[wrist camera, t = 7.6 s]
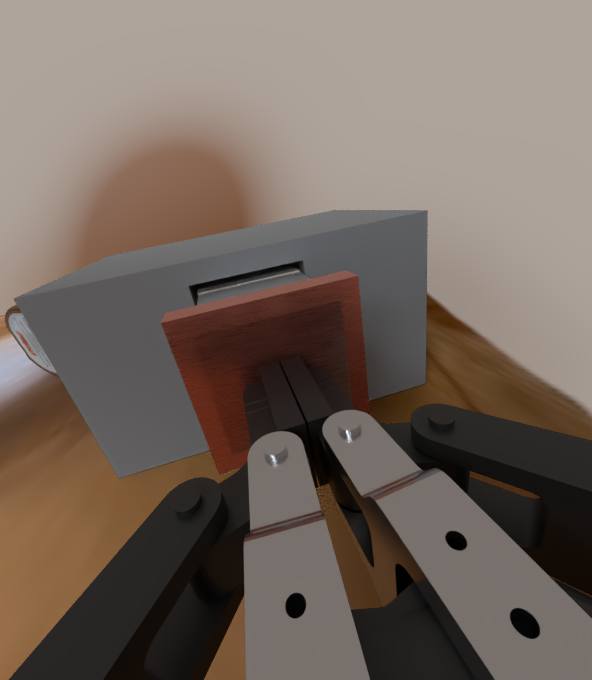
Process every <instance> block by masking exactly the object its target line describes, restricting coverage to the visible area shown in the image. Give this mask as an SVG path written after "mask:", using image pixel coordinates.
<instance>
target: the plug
mask: <svg viewBox="0 0 592 680" xmlns="http://www.w3.org/2000/svg"><path fill="white" fill-rule="evenodd" d="M197 294H198V301H197V306H193V307H189V308H184V309H180V310H176V311H172V312H167V313H165V315H164V317H163V319H162V321H161V325H162V327H163V330H164V332H165V335H166V338H167V340H168V343H169V345H170V348H171V351H172V353H173V356H174V358H175V361H176V363H177V366H178V369H179V371H180V374H181V376H182V379H183V381H184V384H185V387H186V389H187V392H188V394H189V397H190V400H191V402H192V405H193V407H194V410H195V412H196V415H197V418H198V420H199V423H200V425H201V428H202V431H203V433H204V436H205V438H206V441H207V443H208V446H209V449H210V451H211V454H212V456H213V459H214V461H215V464H216V467H217V469H218V472H219V474H221V473H225V472H228V471H231V470H234V469H237V468H240V467H243V466H244V464H245V463H246V461H247V460H248V453H249V450H250V448H251V443H250V437H249V431H248V425H247V419H246V413H245V407H244V401H243V395H242V394H243V392H244V390H245V388H246V386H247V384H251V383H254V382H258V381H262V380H261V376H260V372H259V368H258V367H260V366H263V365H267V364H271V363H274V362H279V364H280V361H281V360H285V359H289V358H292V357H296V356H300V357H301V359H302V361H303V362H304V364H305V366H306V367H311V366H315V365H319V366H321V367H323V368H325V369H327V370H328V371H329V373H330V374H331V375H332V377H333V378H334V380H335V381H336V382H337V384H338V386H340V388H341V389H342V391H343V392H344V393H345V395H346V396H347V397H348V399H349V400H350V402H351V403H352V404H353V406H354V407H355V408H356V410H357V411H362V412H365V413H367V414H369V415H370V405H369V394H368V382H367V370H366V359H365V347H364V336H363V324H362V312H361V301H360V289H359V277H358V275H356V274H354V273H352V272H349V271H347V270H346V271H341V272H337V273H333V274H329V275H324V276H320V277H316V278H312V279H310V278H308V277H307V276H305V275H304V274H303V273H301V272H300V270H299V269H298V268H296V267H295V268H294V267H293V266H291V265H290V264H284V265H279V266H275V267H270V268H266V269H261V270H257V271H252V272H248V273H244V274H239V275H235V276H230V277H226V278H221V279H217V280H212V281H208V282H204V283H200V289H198V292H197Z"/></svg>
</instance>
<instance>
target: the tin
mask: <svg viewBox="0 0 592 680" xmlns="http://www.w3.org/2000/svg"><path fill="white" fill-rule="evenodd" d="M5 322H6V326H7V328H8V330H9V331H10V332H11V334H12V335H13V336H14V338H15V339H16V341H17V342H18V344H19V345H20V346H21V347H22V349H23V350H24V351H25V353H26V355H27V356H28V358H29V359H30V360H31V361H33V362H34V363H35V364H36V365H38V366H39V367H40V368H42V369H43V370H45V371H47V372H49V373H51V374H54V375H57V376H58V374H57V372H56V370H55V369H54V367H53V365H52V364H51V362H50V360H49V359H48V357H47V355H46V353H45V352H44V350H43V348H42V347H41V345H40V343H39V341H38V340H37V338H36V336H35V335H34V333H33V331H32V330H31V328H30V326H29V324H28V323H27V321H26V319H25V318H24V316H23V314H22V313H21V311H20V309H19V307H18V306H17V305H15V306H13V307H11V308H10V309H8V311H7V312H6V315H5Z"/></svg>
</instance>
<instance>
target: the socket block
mask: <svg viewBox="0 0 592 680" xmlns="http://www.w3.org/2000/svg"><path fill="white" fill-rule="evenodd" d="M427 213H428V211H419V210H418V211H416V210H412V211H409V210H407V211H405V210H402V211H401V210H399V211H398V210H397V211H396V210H386V211H385V210H333V211H329V212H323V213H318V214H313V215H308V216H304V217H299V218H294V219H289V220H284V221H280V222H274V223H269V224H264V225H259V226H254V227H249V228H245V229H239V230H234V231H229V232H225V233H220V234H215V235H210V236H205V237H200V238H195V239H190V240H185V241H180V242H175V243H170V244H165V245H161V246H155V247H150V248H146V249H141V250H136V251H131V252H126V253H121V254H116V255H111V256H108V257H106V258H104V259H102V260H99V261H97V262H95V263H93V264H90V265H88V266H86V267H84V268H81V269H79V270H77V271H75V272H73V273H70V274H68V275H66V276H63V277H61V278H59V279H57V280H55V281H52V282H50V283H48V284H46V285H43V286H41V287H39V288H37V289H35V290H32V291H30V292H28V293H26V294H23V295H21V296H19V297H16V298H14V301H15V302H16V304H17V306H18V307H19V309H20V311H21V313H22V314H23V316H24V318H25V319H26V321H27V323H28V324H29V326H30V328H31V330H32V331H33V333H34V335H35V336H36V338H37V340H38V341H39V343H40V345H41V347H42V348H43V350H44V352H45V353H46V355H47V357H48V359H49V360H50V362H51V364H52V365H53V367H54V369H55V370H56V372H57V374H58V376H59V377H60V379H61V381H62V382H63V384H64V386H65V388H66V389H67V391H68V393H69V394H70V396H71V398H72V399H73V401H74V403H75V405H76V406H77V408H78V410H79V411H80V413H81V415H82V416H83V418H84V420H85V422H86V423H87V425H88V427H89V428H90V430H91V432H92V434H93V435H94V437H95V439H96V440H97V442H98V444H99V445H100V447H101V449H102V451H103V452H104V454H105V456H106V457H107V459H108V461H109V462H110V464H111V466H112V468H113V469H114V471H115V473H116V474H117V476H118V478H122V477H125V476H128V475H131V474H135V473H138V472H141V471H144V470H147V469H151V468H154V467H157V466H160V465H164V464H167V463H170V462H173V461H177V460H180V459H183V458H186V457H190V456H193V455H196V454H199V453H202V452H206V451H209V450H210V449H209V446H208V443H207V441H206V438H205V436H204V433H203V431H202V428H201V425H200V423H199V420H198V418H197V415H196V412H195V410H194V407H193V405H192V402H191V400H190V397H189V394H188V392H187V389H186V387H185V384H184V381H183V379H182V376H181V374H180V371H179V369H178V366H177V363H176V361H175V358H174V356H173V353H172V351H171V348H170V345H169V343H168V340H167V338H166V335H165V332H164V330H163V327H162V325H161V321H162V319H163V317H164V315H165V313H167V312H172V311H176V310H180V309H184V308H189V307H193V306H197V301H198V294H197V292H198V289H200V283H204V282H208V281H212V280H217V279H221V278H226V277H230V276H235V275H239V274H244V273H248V272H252V271H257V270H261V269H266V268H270V267H275V266H279V265H284V264H290V265H291V266H293V267H294V268H295V267H296V268H298V269H299V270H300V272H301V273H303V274H304V275H305V276H307V277H308V278H310V279H312V278H316V277H320V276H324V275H329V274H333V273H337V272H341V271H346V270H347V271H349V272H352V273H354V274H356V275H358V277H359V289H360V301H361V312H362V324H363V336H364V347H365V359H366V370H367V382H368V394H369V401H371V400H374V399H377V398H380V397H384V396H387V395H390V394H393V393H397V392H400V391H403V390H406V389H409V388H413V387H416V386H419V385H422V384H426V315H427Z"/></svg>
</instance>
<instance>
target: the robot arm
mask: <svg viewBox="0 0 592 680" xmlns="http://www.w3.org/2000/svg"><path fill="white" fill-rule="evenodd" d="M258 368H259V372H260V376H261V380H262V381H258V382H254V383H251V384H247V386H246V388H245V390H244V392H243V394H242V395H243V401H244V407H245V413H246V419H247V425H248V431H249V437H250V443H251V448H250V450H249V453H248V460H247V461H246V463H245V464H244V466H243V467H242V468H241V469H240V470H239V471H237V472H236V473H235V474H233V475H232V476H231V477H229V478H227V479H226V480H224V481H222V482H221V483H219V484H217V482H215V481H214V480H212V479H210V478H202V477H200V478H194V479H191V480H188V481H186V482H184V483H182V484H180V485H178V486H177V487H175V488H174V489H173V490H172V491H171V492H169V494H168V495H167V496H166V497H165V498H164V499H163V500H162V501H161V503H160V504H159V505H158V506H157V507H156V508H155V510H154V511H153V512H152V513H151V514H150V515H149V517H148V518H147V519H146V520H145V521H144V522H143V524H142V525H141V526H140V527H139V528H138V529H137V531H136V532H135V533H134V534H133V535H132V536H131V538H130V539H129V540H128V541H127V542H126V543H125V545H124V546H123V547H122V548H121V549H120V550H119V552H118V553H117V554H116V555H115V556H114V557H113V559H112V560H111V561H110V562H109V563H108V564H107V566H106V567H105V568H104V569H103V570H102V571H101V573H100V574H99V575H98V576H97V577H96V578H95V580H94V581H93V582H92V583H91V584H90V585H89V587H88V588H87V589H86V590H85V591H84V592H83V594H82V595H81V596H80V597H79V598H78V599H77V601H76V602H75V603H74V604H73V605H72V606H71V608H70V609H69V610H68V611H67V612H66V613H65V615H64V616H63V617H62V618H61V619H60V620H59V622H58V623H57V624H56V625H55V626H54V627H53V629H52V630H51V631H50V632H49V633H48V634H47V636H46V637H45V638H44V639H43V640H42V641H41V643H40V644H39V645H38V646H37V647H36V648H35V650H34V651H33V652H32V653H31V654H30V655H29V657H28V658H27V659H26V660H25V661H24V663H23V664H22V665H21V666H20V667H19V668H18V670H17V671H16V672H15V673H14V674H13V675H12V677H11V678H10V679H9V680H204V678H205V676H206V674H207V672H208V670H209V667H210V665H211V663H212V661H213V659H214V657H215V655H216V653H217V651H218V649H219V647H220V644H221V642H222V640H223V638H224V636H225V634H226V632H227V630H228V628H229V626H230V623H231V621H232V619H233V617H234V615H235V613H236V611H237V609H238V607H239V605H240V603H241V600H242V598H243V596H244V595H245V652H246V680H592V598H591V597H589V596H587V595H585V594H583V593H581V592H579V591H577V590H575V589H573V588H571V587H569V586H567V585H565V584H563V583H561V582H559V581H557V580H554V579H551V578H550V577H549V576H552V577H554V578H556V579H558V580H560V581H562V582H564V583H566V584H569V585H571V586H573V587H575V588H577V589H579V590H581V591H583V592H585V593H588V594H590V595H592V441H590V440H586V439H582V438H578V437H574V436H570V435H566V434H562V433H558V432H554V431H550V430H546V429H542V428H538V427H534V426H530V425H526V424H522V423H518V422H514V421H510V420H506V419H502V418H498V417H494V416H490V415H486V414H482V413H478V412H474V411H470V410H466V409H462V408H458V407H454V406H449V405H445V404H428V405H424V406H421V407H419V408H418V409H416V410H415V411H414V412H413V413H412V416H411V423H395V424H383V423H377V422H376V421H375V419H374V418H373V417H371V416H370V415H369V414H367V413H365V412H362V411H357V410H356V408H355V407H354V406H353V404H352V403H351V402H350V400H349V399H348V397H347V396H346V395H345V393H344V392H343V391H342V389H341V388H340V386H338V384H337V382H336V381H335V380H334V378H333V377H332V375H331V374H330V373H329V371H328V370H327V369H325V368H323V367H321V366H319V365H315V366H311V367H306V366H305V364H304V362H303V361H302V359H301V357H300V356H296V357H292V358H289V359H285V360H281V361H280V364H279V362H274V363H271V364H267V365H263V366H260V367H258ZM470 471H473V472H475V473H478V474H481V475H484V476H487V477H490V478H492V479H495V480H498V481H501V482H504V483H506V484H509V485H512V486H515V487H518V488H521V489H523V490H526V491H529V492H532V493H534V494H536V495H538V496H539V497H541V498H537V499H532V498H527V497H524V496H521V495H518V494H515V493H513V492H510V491H507V490H504V489H502V488H499V487H496V486H493V485H491V484H488V483H485V482H482V481H480V480H477V479H474V478H472V477H470ZM316 477H317V479H318V482H319V484H320V486H322V485H325V484H328V483H329V485H330V487H331V489H332V492H333V495H334V501H335V506H336V509H337V511H338V513H339V515H340V517H341V519H342V521H343V523H344V525H345V527H346V529H347V531H348V533H349V535H350V537H351V539H352V541H353V543H354V544H355V546H356V548H357V550H358V552H359V554H360V556H361V558H362V560H363V562H364V564H365V566H366V568H367V570H368V572H369V574H370V576H371V578H372V581H373V583H374V586H375V588H376V592H377V595H378V598H379V601H380V603H381V606H382V607H380V608H370V609H357V610H351V609H350V606H349V602H348V599H347V595H346V592H345V588H344V584H343V581H342V577H341V574H340V570H339V567H338V563H337V559H336V556H335V552H334V549H333V545H332V541H331V538H330V534H329V531H328V527H327V524H326V520H325V517H324V514H323V512H322V511H321V508H320V504H319V500H318V497H317V493H316V489H315V488H317V487H318V484H317V479H316ZM548 575H549V576H548Z"/></svg>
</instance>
